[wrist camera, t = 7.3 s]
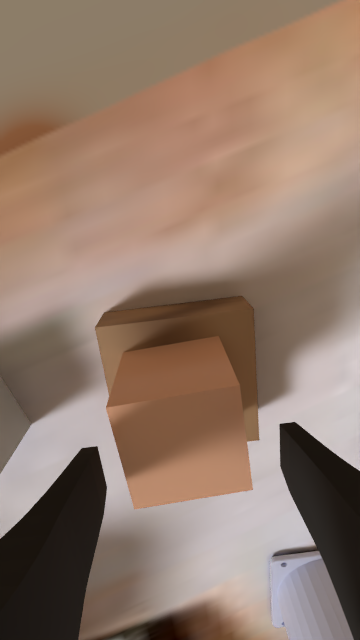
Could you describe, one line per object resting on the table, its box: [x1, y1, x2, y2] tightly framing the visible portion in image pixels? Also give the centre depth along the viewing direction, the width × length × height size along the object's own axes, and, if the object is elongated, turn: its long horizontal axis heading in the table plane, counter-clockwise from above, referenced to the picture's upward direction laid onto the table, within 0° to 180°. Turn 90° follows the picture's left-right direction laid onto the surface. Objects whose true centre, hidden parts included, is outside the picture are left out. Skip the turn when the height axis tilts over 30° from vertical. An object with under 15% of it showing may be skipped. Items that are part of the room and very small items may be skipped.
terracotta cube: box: [106, 336, 253, 509], centre depth 15 cm, size 5×5×5 cm
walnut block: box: [95, 296, 259, 441], centre depth 19 cm, size 8×8×3 cm
